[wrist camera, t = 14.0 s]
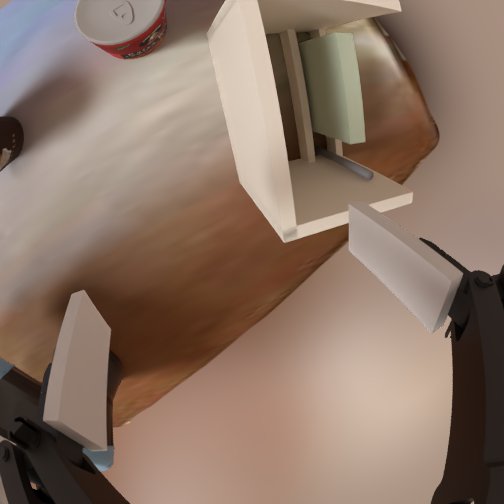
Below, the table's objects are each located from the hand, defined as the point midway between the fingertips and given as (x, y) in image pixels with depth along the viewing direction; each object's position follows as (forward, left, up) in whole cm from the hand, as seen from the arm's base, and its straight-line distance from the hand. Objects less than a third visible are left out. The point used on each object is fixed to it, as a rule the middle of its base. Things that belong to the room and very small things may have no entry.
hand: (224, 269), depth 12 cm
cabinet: (+5, -12, -24) cm, 27 cm away
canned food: (+18, +3, -24) cm, 30 cm away
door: (+6, -17, -24) cm, 30 cm away
